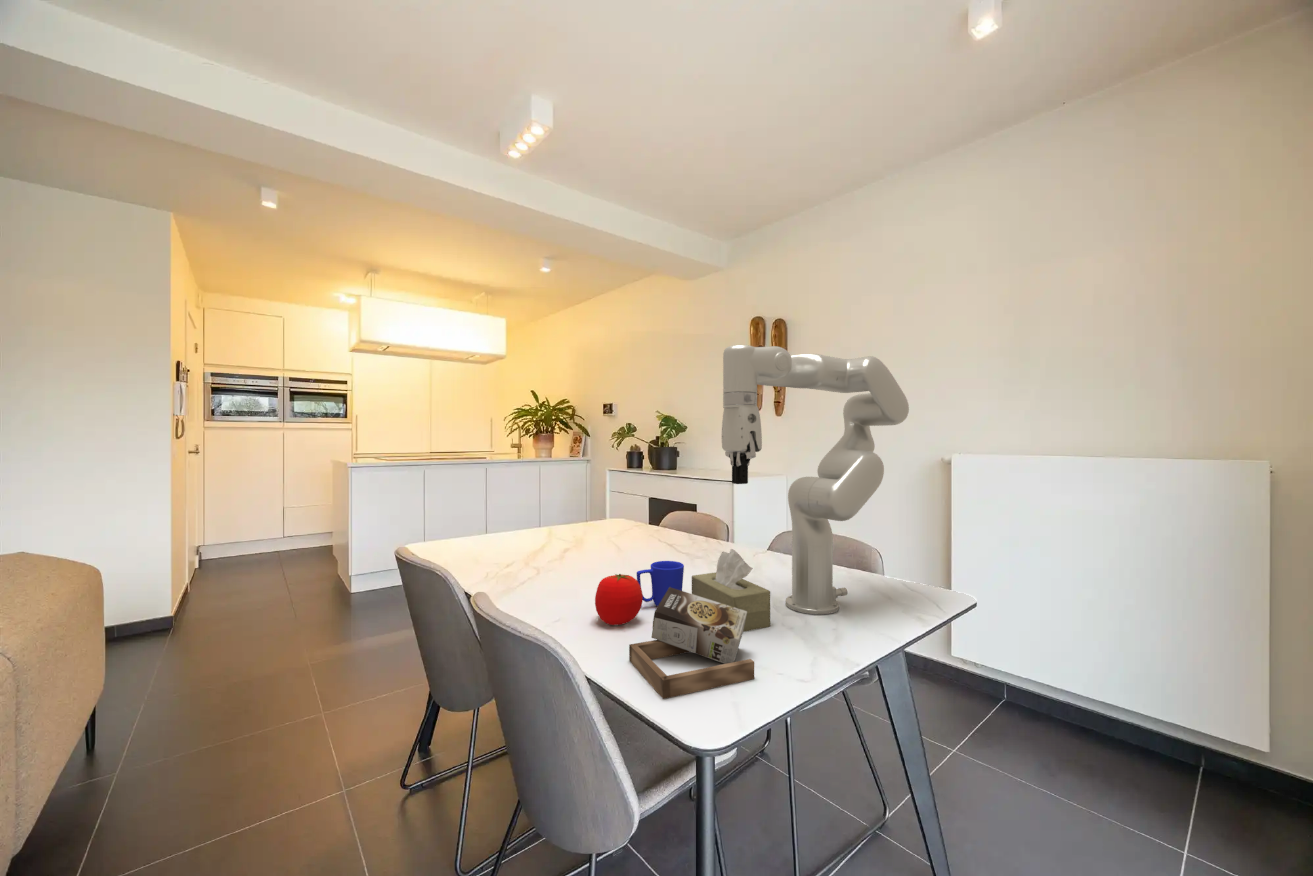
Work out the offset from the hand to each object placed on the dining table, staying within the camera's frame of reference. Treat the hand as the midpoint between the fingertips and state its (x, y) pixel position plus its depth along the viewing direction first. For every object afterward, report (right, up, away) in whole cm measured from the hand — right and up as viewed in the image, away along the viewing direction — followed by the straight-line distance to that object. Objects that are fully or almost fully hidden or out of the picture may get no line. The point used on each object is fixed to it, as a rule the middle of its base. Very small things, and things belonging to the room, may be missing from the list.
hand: (739, 483), depth 117 cm
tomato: (-27, -31, 0) cm, 42 cm away
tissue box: (-2, -32, +4) cm, 32 cm away
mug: (-18, -31, +11) cm, 38 cm away
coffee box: (-3, -27, -19) cm, 34 cm away
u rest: (-13, -31, -23) cm, 41 cm away
